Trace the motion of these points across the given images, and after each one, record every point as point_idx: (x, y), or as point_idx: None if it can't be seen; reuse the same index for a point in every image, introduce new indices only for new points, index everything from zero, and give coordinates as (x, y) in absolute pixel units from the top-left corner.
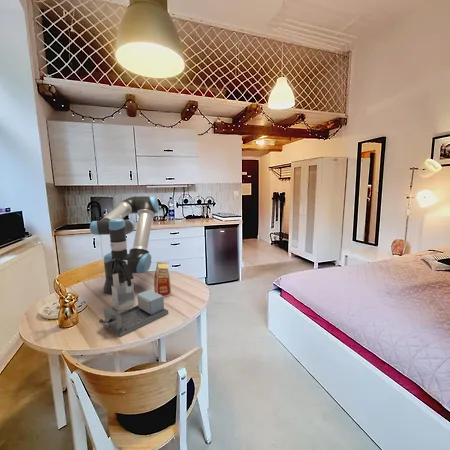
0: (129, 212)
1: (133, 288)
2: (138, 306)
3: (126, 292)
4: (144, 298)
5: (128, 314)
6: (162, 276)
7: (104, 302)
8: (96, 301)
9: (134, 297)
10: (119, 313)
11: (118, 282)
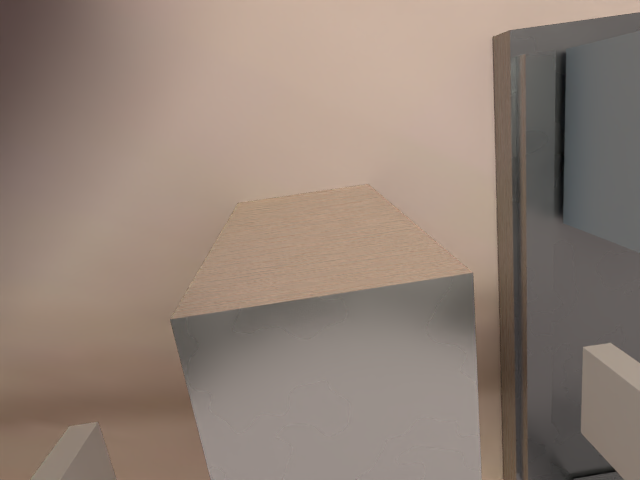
0: None
1: (427, 241)
2: (572, 225)
3: (594, 434)
4: None
5: (593, 342)
6: None
7: (87, 413)
8: (7, 465)
9: (387, 201)
10: (542, 414)
11: (75, 470)
